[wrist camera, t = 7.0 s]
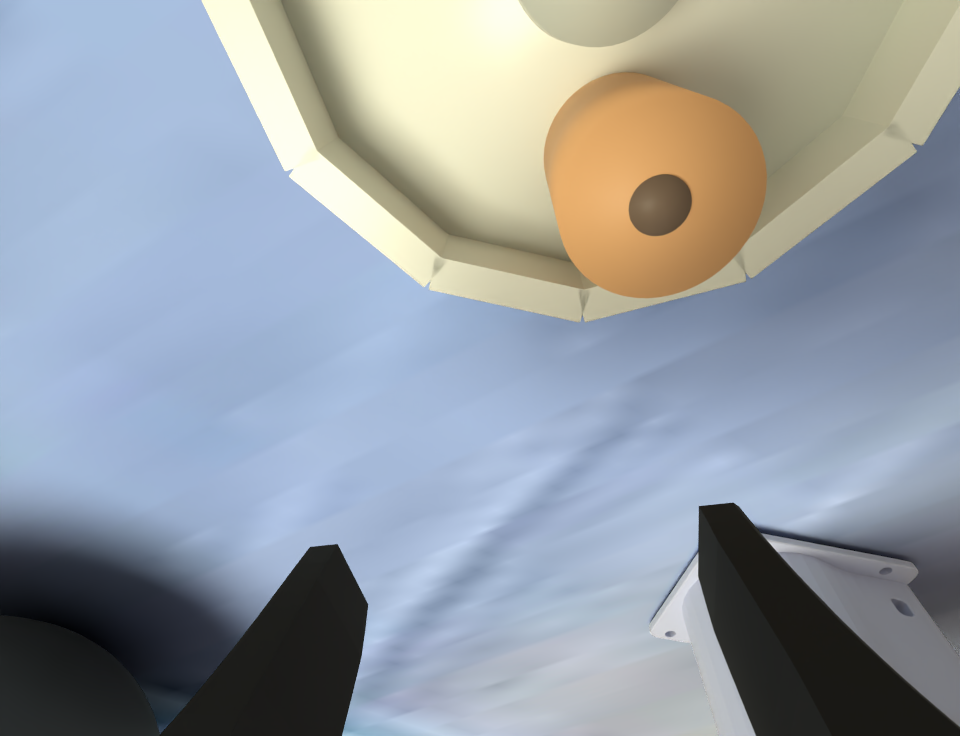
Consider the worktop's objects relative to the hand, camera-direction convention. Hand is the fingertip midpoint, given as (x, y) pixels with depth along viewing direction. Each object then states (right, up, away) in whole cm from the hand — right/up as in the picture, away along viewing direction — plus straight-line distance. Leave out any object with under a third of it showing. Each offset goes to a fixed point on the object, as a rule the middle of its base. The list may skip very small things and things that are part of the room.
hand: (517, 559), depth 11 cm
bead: (+3, +10, +4) cm, 11 cm away
